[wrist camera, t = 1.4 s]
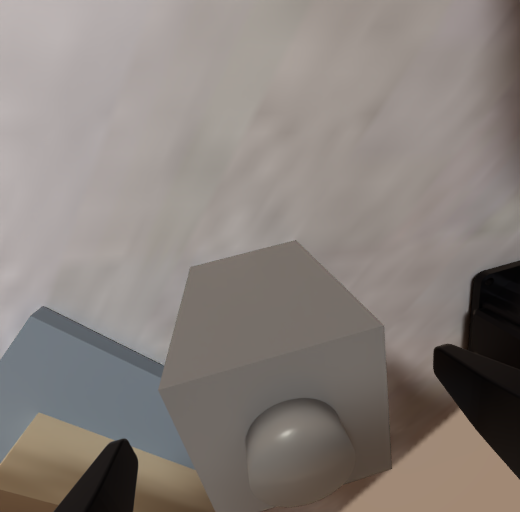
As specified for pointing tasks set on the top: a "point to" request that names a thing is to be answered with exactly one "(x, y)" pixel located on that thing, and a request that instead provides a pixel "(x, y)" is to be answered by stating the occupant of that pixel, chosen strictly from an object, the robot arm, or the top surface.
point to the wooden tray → (75, 465)
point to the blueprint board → (84, 387)
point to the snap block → (276, 381)
